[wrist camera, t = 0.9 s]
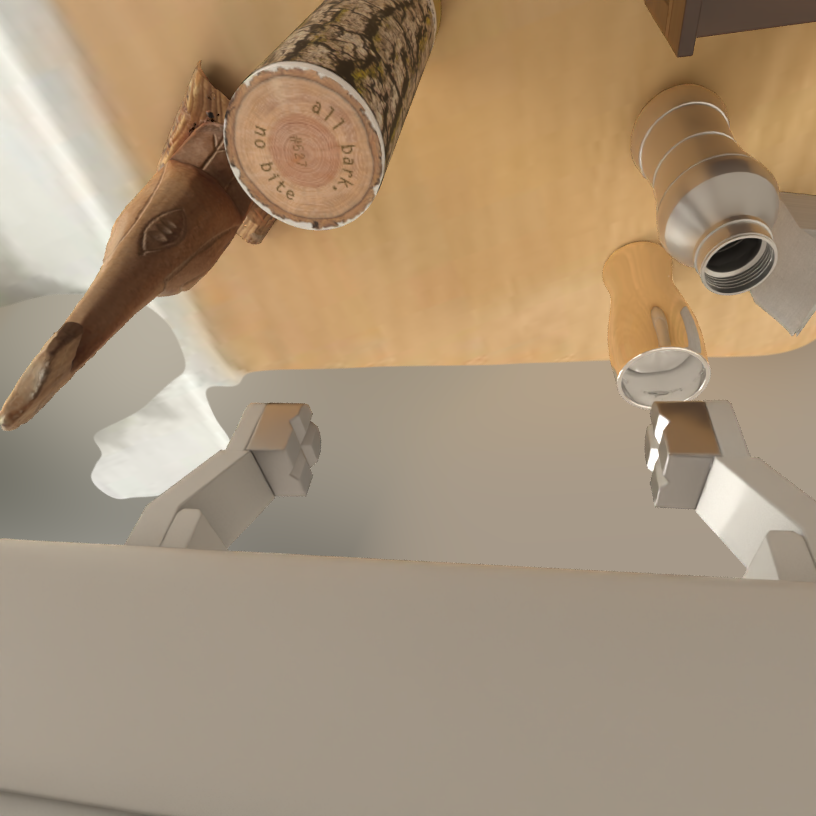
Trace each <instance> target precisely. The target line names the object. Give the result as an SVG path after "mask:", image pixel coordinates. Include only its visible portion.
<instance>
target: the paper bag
mask: <svg viewBox="0 0 816 816" xmlns="http://www.w3.org/2000/svg"><path fill="white" fill-rule="evenodd" d="M771 232H772V236H773V241H774V243H775V245H776V247H777V252H778V259H777V263H776V266H775V268H774V270H773V271H772V273H771V274H770V275H769V277H767V278H766V279H765V280H764V281H763V282H762V283H761V284H759V285H758V286H756V287H755V288H753V289H751V290H749V291H750V293H751V295H752V297H753V300H754V302H755V303H756V304H757V305H758V306H760V307H761V308H762V309H763V310H764V311H766V312H767V313H768V314H769V315H770V316H772V317H773V318H774V319H775V320H776V321H778V322H779V323H780V324H781V325H782V326H783V327H784V328H785V329H786V330H787V331H788V332H789V333H790V334H791V336H793V335H794V334H795V333H796V335H797V336H798V335H799V333H800V332H801V330H802V329H803V328H804V326H805V325H806V323H807V322H808V321H809V319H810V318H811V316H812V315H813V314H814V312H815V311H816V196H815V195H806V194H796V193H787V192H779V212H778V216H777V220H776V222H775V224H774V226H773V228H772V230H771Z"/></svg>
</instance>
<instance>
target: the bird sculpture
mask: <svg viewBox="0 0 816 816" xmlns="http://www.w3.org/2000/svg"><path fill="white" fill-rule="evenodd" d="M212 93H213V94H212ZM214 95H215V96H214ZM208 96H209V97H210V98H209V97H208ZM229 102H230V99H229V100H228V98H227V97H226V96H225V95H223V93H221V92H220V91H219V90H217V89H215V88H214V87H213V86H212V84H211V83H210V81H209V80H208V78H207V77H206V75H205V74H204V72H203V71H202V69H201V61H199V62H198V63H197V65H196V68H195V71H194V73H193V76H192V79H191V81H190V83H189V86H188V89H187V91H186V93H185V96H184V99H183V101H182V104H181V107H180V109H179V111H178V113H177V115H176V118H175V121H174V124H173V126H172V129H171V131H170V134H169V137H168V139H167V142H166V145H165V148H164V150H163V153H162V156H161V159H160V161H159V164H158V167H157V173H156V174H155V175H154V176H153V177H152V179H151V180H150V181H149V182H148V183H147V185H146V186H145V187H144V188H143V189H142V190H141V191H140V192H139V193H138V194H137V195H136V196H135V198H134V199H133V200H132V201H131V202H130V203H129V204H128V205H127V206H126V207H125V209H124V210H123V211H122V212H121V214H120V216H119V217H118V218H117V220H116V222H115V224H114V226H113V227H112V231H111V236H110V239H109V241H108V243H107V246H106V252H105V256H104V259H103V265H102V266H101V268H100V271H99V273H98V274H97V276H96V278H95V280H94V281H93V283H92V284H91V286H90V287H89V289H88V291H87V292H86V293H85V295H84V297H83V298H82V299H81V300H80V301H79V302H78V304H77V306H76V307H75V308H74V310H73V312H72V313H71V314H70V316H69V317H68V318H67V319H66V321H65V323H64V324H63V326H62V327H61V328H60V329H59V330H58V331H57V332H56V333H54V335H53V336H52V337H51V338H50V339H49V340H48V341H47V343H46V344H45V345H44V347H43V348H42V349H41V352H40V353H39V354H38V355H37V356H36V357H35V358H34V359H33V360H32V362H31V364H30V365H29V366H28V367H27V369H26V370H25V372H24V373H23V375H22V377H21V378H20V379H19V381H18V382H17V384H16V386H15V387H14V389H13V391H12V393H11V394H10V396H9V397H8V398H7V400H6V402H5V404H4V405H3V407H2V410H1V411H0V426H1V428H2V430H4V431H10V430H14V429H16V428H17V427H19V426H20V425H21V424H25V423H27V422H28V421H29V420H30V419H32V418H33V416H34V415H35V414H36V413H38V411H39V410H40V409H41V408H43V407H44V406H45V404H46V403H47V402H48V401H49V400H50V399H51V398H52V397H53V396H54V395H55V393H56V392H58V390H59V389H60V388H61V387H63V386H64V385H65V384H66V383H67V382H68V381H69V380H70V379H71V378H72V377H73V375H74V374H75V372H77V371H78V370H79V369H80V368H82V367H83V366H84V365H85V363H86V362H87V361H88V360H89V359H90V358H92V357H93V356H94V355H95V354H96V352H97V351H98V350H99V349H101V348H102V346H104V345H105V344H106V342H107V341H108V340H109V339H110V338H111V337H112V336H113V335H114V334H115V333H116V332H118V331H119V330H120V329H121V328H122V327H123V326H124V325H125V323H126V322H128V321H129V319H131V318H132V317H133V316H134V314H136V313H137V312H138V311H139V310H141V309H142V308H143V307H144V306H146V305H147V304H148V303H149V302H151V301H152V300H153V299H154V298H155V297H157V296H158V297H162V296H171V295H175V294H178V293H180V292H181V291H186V290H189V289H190V288H192V287H193V286H194V285H195V284H196V283H197V282H198V281H199V280H200V279H201V278H202V277H203V276H205V275H206V274H207V272H208V271H209V270H210V269H211V268H212V267H213V266H214V264H215V263H216V262H217V260H218V259H219V257H220V256H221V254H222V253H223V252H224V251H225V249H226V248H227V247H228V245H229V244H230V242H231V241H232V239H233V238H234V236H235V234H238V235H239V236H240V237H242V239H244V240H246V242H248V243H251V244H259V243H261V242H262V240H263V238H264V237H265V236H266V234H267V233H268V231H269V230H270V228H271V226H272V224H273V223H274V221H275V219H276V218H274V217H273V216H271V215H270V214H268V213H267V212H266V211H264V210H263V209H262V208H260V207H259V206H258V205H257V204H256V203H255V202H254V201H253V200H252V199H251V198H250V197H249V196H248V195H247V193H246V192H245V191H244V190H243V188H242V187H241V185H240V184H239V182H238V180H237V179H236V177H235V175H234V173H233V171H232V169H231V167H230V164H229V161H228V158H227V154H226V151H225V145H224V135H223V130H224V119H225V114H226V110H227V107H228V105H229ZM217 114H219V116H217ZM212 118H213V119H214V120H215V121H217V123H215V122H211V119H212ZM208 119H209V120H208ZM195 122H196V125H197V126H195V125H194V123H195ZM192 127H194V128H195V130H192V131H191V132H190V131H189V130H191V129H192ZM243 221H244V223H243ZM245 225H246V226H245Z"/></svg>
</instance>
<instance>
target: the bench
mask: <svg viewBox="0 0 816 816" xmlns="http://www.w3.org/2000/svg"><path fill="white" fill-rule="evenodd" d="M645 5H646V7H647V8H648V10H649V12H650V13H651V15H652V17H653V18H654V20H655V22H656V23H657V25H658V27H659V28H660V30H661V32H662V33H663V35H664V37H665V38H666V40H667V41H668V43H669V45H670V46H671V48H672V50H673V51H674V53H675V55H676V56H677V57H685V56H692V55H693V51H694V46H695V40H696V38H698V37H706V36H713V35H720V34H728V33H735V32H743V31H750V30H758V29H765V28H772V27H780V26H787V25H795V24H802V23H809V22H816V0H645Z"/></svg>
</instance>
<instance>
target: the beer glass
mask: <svg viewBox="0 0 816 816" xmlns="http://www.w3.org/2000/svg"><path fill="white" fill-rule="evenodd" d="M672 271H673V266H672V259H671V256H670V255H669V254H668V253H667V252H666V250H665V249H664V248H663V247H662V246H661V245H659V244H657V243H654V242H649V241H638V242H633V243H629V244H626V245H624V246H622V247H620V248H619V249H617V250H616V251H615V252H613V253H612V254H611V255H610V257H609V258H608V259H607V261H606V262H605V265H604V267H603V272H602V278H603V282H604V285H605V287H606V289H607V290H608V292H609V294H610V298H611V306H610V314H609V322H608V337H607V340H608V350H609V357H610V362H611V366H612V369H613V373H614V377H615V380H616V384H617V389H618V392H619V393H620V395H621V397H622V398H623V399H624V400H625V401H626V402H628V403H629V404H631V405H633V406H636V407H638V408H642V409H648V410H651V406H652V404H653V402H654V401H691V400H693V399H694V398H696V397H697V396H698V395H699V394H700V393H701V392H702V391H703V390H704V389H705V388H706V386H707V385H708V382H709V380H710V376H711V371H710V366H709V363H708V358H707V352H706V347H705V342H704V339H703V335H702V332H701V329H700V326H699V324H698V321H697V319H696V316H695V315H694V313H693V311H692V309H691V308H690V306H689V304H688V303H687V302H686V300H685V299H684V297H683V296H682V295H681V293H680V292H679V290H678V289H677V288H676V286H675V285H674V282H673V280H672Z"/></svg>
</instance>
